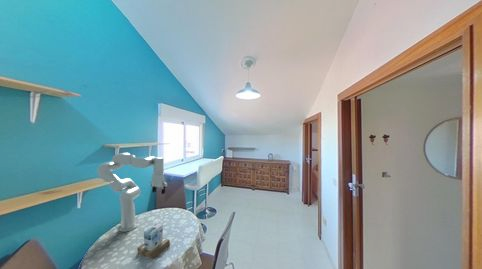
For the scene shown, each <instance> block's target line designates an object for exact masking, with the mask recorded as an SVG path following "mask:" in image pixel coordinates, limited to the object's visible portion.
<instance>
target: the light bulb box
mask: <svg viewBox="0 0 482 269" xmlns="http://www.w3.org/2000/svg"><path fill="white" fill-rule="evenodd" d="M163 227H164V225H163V224H160V223H154V224H152V225H151V226H150V227H148V228H147V229H146V230H144V231H143V244H144V247H146V248H150V249H153V248H154V247H155V246H156V245H157V244H158V243H159V242H160V241H161V240H162V239H163V238H164V237H163V236H164V235H163V234H164V232H163Z"/></svg>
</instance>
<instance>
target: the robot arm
mask: <svg viewBox="0 0 482 269" xmlns="http://www.w3.org/2000/svg"><path fill="white" fill-rule="evenodd" d="M125 165H126V166H131V167H134V168H139V169H146V168H149V167H152V166H153V170H152V172H153V174H152V176H151V181H150V182H149V183H150V185H151V186H150V187H151V189H152V191H151V192H152V193H155V192H156V191H157V188H161V195H163V194H166V188H167V187H168V183H167V182H166V180H165V179H166V178H165V173H164V157H162V156H158V157H157V156H148V157H145V158H142V157H141V158H139V157H137V156H136V155H134V154H131V153H129V152H121V153H116V154H115V155H113V157H112V158H111V161H107V162H103V163H101V164H100V165H99V166H98V167H97V175H98V177H99V178H100V179H102V180H103V182H105V183H106V182H111V181H114V182H113V183H110V184H107V185H108V187H110V188H111V189H112V191H113V192H114V193H117V194H118V193H121V194H120V195H119V198H118V199H119V202H120V218H121V220H120V222H119V223H118V224H119V225H120V226H119V229H118V230H119V232H121V233H124V232H125V233H126V232H129V231H133V230H135V229H136V228H137V226H138V222H136V207H135V206H136V204H135V202H134V200H135V199H136V198H138V197H139V196H140V195H141V194H142V192H141V188H140V187H139V186H138V185H137V184H136V183H135V182H134V181H133V180H132V179H131V178H129V177H125V178H120V177H119V176H118V175H117V174H115V173H113V172H114V171H118V170H119V169H121V168H123V167H124V166H125Z"/></svg>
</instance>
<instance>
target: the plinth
mask: <svg viewBox="0 0 482 269" xmlns="http://www.w3.org/2000/svg"><path fill="white" fill-rule="evenodd" d="M170 242H171V241H170V239H168V238H165V237H163V239H162V240H161V241H160V242H159V243H158V244H157V245H156V246H155V247H154V248H153V249H150V248H146V247H144V243H143V244H141V245H139V246H138V247H137V254H138V255H140V256H143V257H147V258H148V259H151V260H155V258H158V256H159V255H161V254H162V253H163V252H164V251H165V250H166V249H167V248H168V247H170V246H171V244H170Z"/></svg>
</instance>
